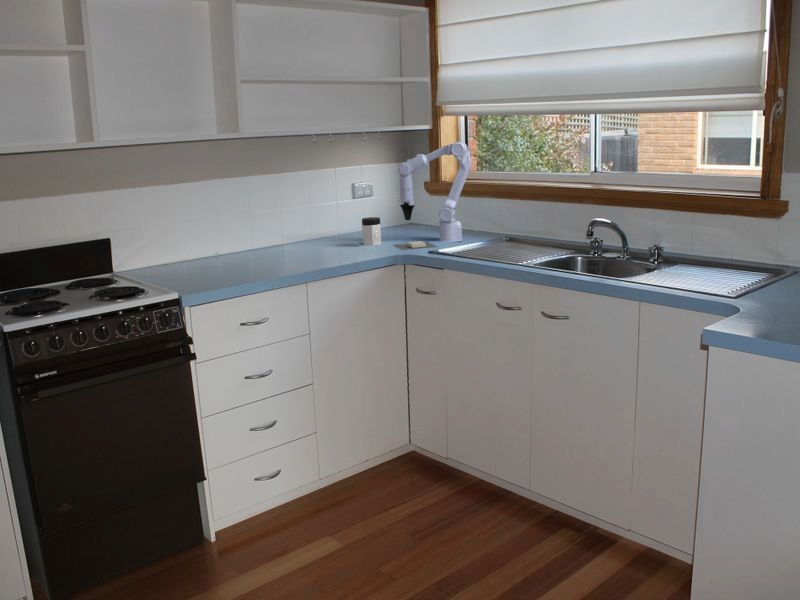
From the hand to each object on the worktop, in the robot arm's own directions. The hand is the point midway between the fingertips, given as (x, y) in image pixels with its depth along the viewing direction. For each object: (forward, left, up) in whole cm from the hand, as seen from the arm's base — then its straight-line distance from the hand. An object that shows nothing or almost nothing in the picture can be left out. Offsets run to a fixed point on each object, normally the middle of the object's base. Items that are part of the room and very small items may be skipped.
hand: (407, 220), depth 361 cm
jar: (+17, 0, -10) cm, 20 cm away
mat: (+2, +16, -10) cm, 19 cm away
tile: (+2, +15, -8) cm, 17 cm away
